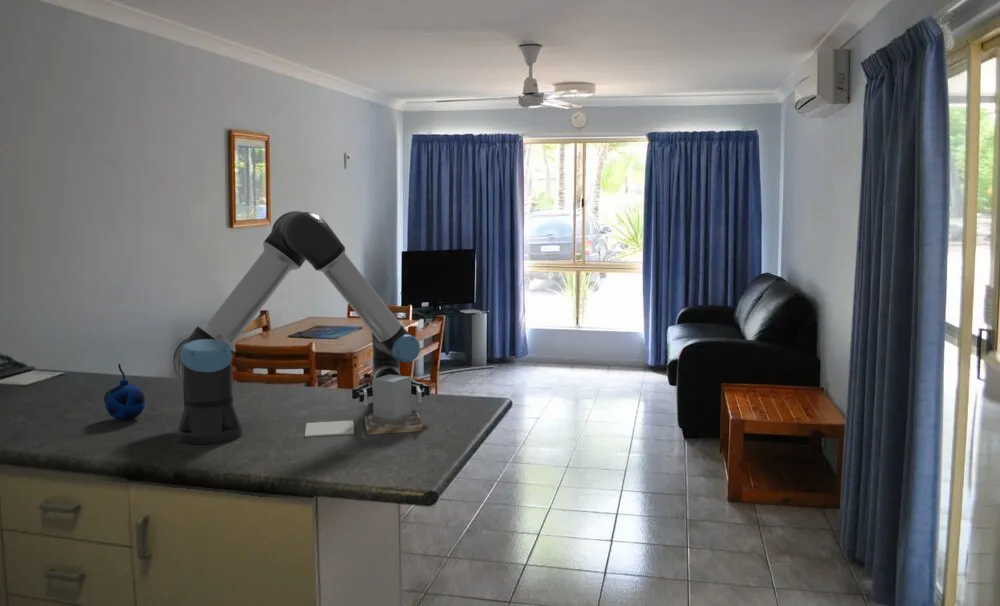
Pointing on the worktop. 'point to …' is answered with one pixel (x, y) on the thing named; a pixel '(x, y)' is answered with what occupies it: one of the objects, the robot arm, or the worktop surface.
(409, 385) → the supplement box
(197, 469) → the worktop surface
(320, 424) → the coaster
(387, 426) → the ring stand
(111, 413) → the bomb
